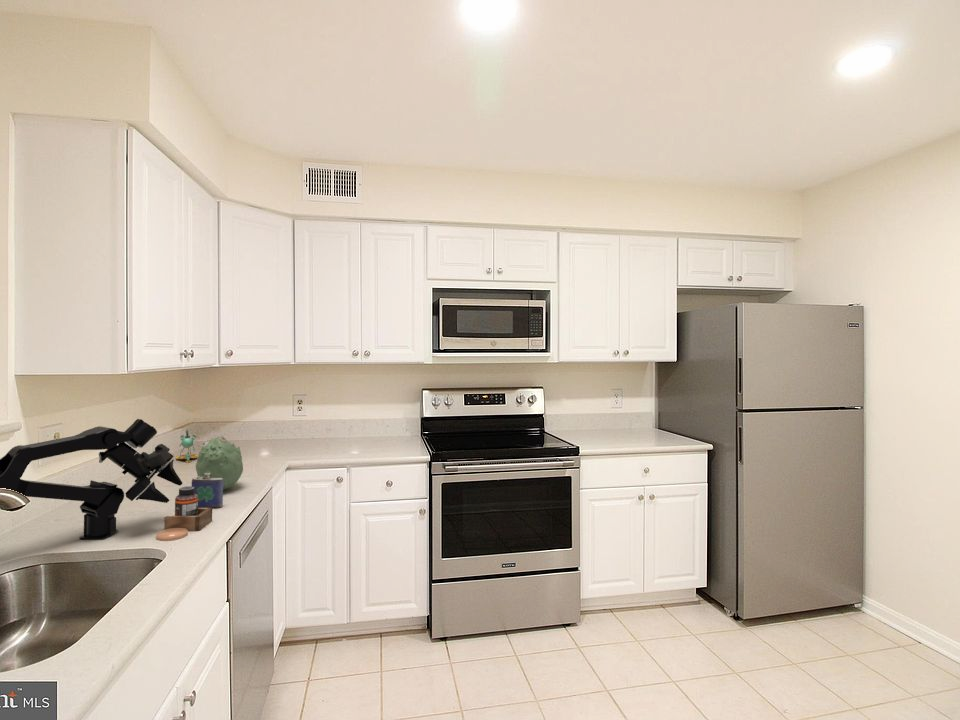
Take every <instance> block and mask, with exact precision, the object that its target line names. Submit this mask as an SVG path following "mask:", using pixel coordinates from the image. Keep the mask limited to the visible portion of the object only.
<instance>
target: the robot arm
mask: <svg viewBox="0 0 960 720" xmlns="http://www.w3.org/2000/svg"><path fill="white" fill-rule="evenodd" d="M157 434H158V431H157V429H156V428H155V427H154V426H152V425H150V424H149V423H147V422H146V421H144V420H143V419H142V418H141V419H140V418H137V419H136V420H134V422H133V423H132V424H131V425H130V426H129V427H127V428H126V430H124V431H121V430H117V429H116V428H112V427H107V426H102V425H101V426H95V427H93V428H90V429H86V430H84V431H81V432H80V433H78V434H75V435H72V436H67V437H61V438H55V439H51V440H50V439H49V440H45V441H40V442H35V443H30V444H25V445H22V444H19V445H15V446H14V447H11V449H10V450H9V451H7V453H6V454H5V455H4V456H2V457H1V458H0V488H6V489H11V490H14V491H17V492H19V493H22V494H23V495H25V496H26V497H27V498H28V497H29V498H41V499H49V500H50V499H53V500H61V501H62V500H63V501H75V502H82V503H81V505H80V506H79V509H80V511H81V512H82V514H84V515H83V535H81V536H80V537H79V539H80V540H104V539H107V538H108V537H111V536H112V535H114V534H115V533H117V532H118V531H119V529H118V528H117V517H116V516H115V515H116V514H118V511H119V509H120V506H121V504H122V503H123V501H124V499H125V497H126V499H128V500H130V501H131V502H132V501H134V500H136V501H138V500H143V501H144V500H146V501H153V502H158V503H159V502H160V503H164V504H167V503H168V502H170V498H168V497H167V496H166V495H165V494H164V493H162V492H161V491H160V490H158V489H157V488H156V485H155V481H153V482H152V481H151V479H153V477H155V475H156V476H157V477H159V478H161V479H163V480H166V481H167V482H169V483H172V484H174V485H177V486H181V485H183V481H182V479H181V478H180V477H179V475H178V473H177V472H176V471H175V469H174V462H175V460H174V455H173V454H172V453H171V452H169V451H170V447H168V446H167V445H165V444H163V443H159V444H157V445H156V446H155V447H154V450H153V451H152V452H150V453H147V452H146V451H145V452H144V451H142V452H141V453H140V452H138V451H137V450H136V449H137V448H141V449H143V447H144V446H146V444H147V443H149V441H150V440H152V438H154V437H155V436H156V435H157ZM97 450H98V451H99V450H105V451H100V452H98V458H99V459H98V463H99V464H102V463H103V462H105V460H107V459H108V460H110V461H111V462H112V463H113V464H116V466H118V467H120V468H121V469H122V470H123V471H121V473H122V474H123V475H126V474H127V473H128V474H129V475H131V476H132V477H134V479H135V480H134V483H133V485H131V487H130V488H128V490H126V491H124V490H123V489H122V488H120V487H118V484H115V483H111V482H107V481H101V482H100V481H95V480H91V479H90V481H89V485H82V486H81V485H74V484H64V483H53V482H45V481H38V480H37V481H36V480H26V479H21V478H22V476H23V475H24V473H25V471H26V469H27V467H28V466H29V465H30V464H31V462H33V461H37V460H43V459H47V458H52V457H56V456H60V455H61V456H62V455H66V454H69V453H70V454H71V453H74V452H75V453H76V452H79V451H97Z"/></svg>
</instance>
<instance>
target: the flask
mask: <svg viewBox="0 0 960 720" xmlns="http://www.w3.org/2000/svg"><path fill="white" fill-rule="evenodd" d="M204 474H205V476H203V477H202V478H200V476H199V477H198V476H196V477H193V478H192V479H191V486H192V487H194V490H195V491H194V493H195V494H197V495H198V508H212V509H214V510H215V509H221V508H222V507H223V506H224V500H223V498H224V490H223V478H209V477H210V474H211V473H204Z"/></svg>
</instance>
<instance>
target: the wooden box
mask: <svg viewBox="0 0 960 720" xmlns="http://www.w3.org/2000/svg"><path fill="white" fill-rule="evenodd" d="M163 520H164V522H163V523H164V524H163V527H164V528H163V530H165V529H170V528H185V529H187V530H188V532H199V531H201V530H202V529H203V528H205V527H206V526H207V525H209V524H210V523H211V522H213V508H198V515H197V516H175V515H165V516H164V519H163Z"/></svg>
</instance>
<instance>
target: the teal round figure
mask: <svg viewBox="0 0 960 720" xmlns="http://www.w3.org/2000/svg"><path fill="white" fill-rule="evenodd" d="M185 435H186V436H185ZM185 435H180V440H181V443H180V445H179V447H181V446H182V447H183V448H182V450H181V451H180V455H177V456H176V457H175V459H177V460H185V463H187V464H188V463H189V464H190V463H192V460H190V459H197V457H198V454H195V453H192V452H191V451H193V452H195V451H196V450H195V446H194V440H195V438H196V437H197V436H196V435H194V434H193V435H192V437H191V435H189V429H186V430H185ZM191 447H192V450H191ZM185 448H186V449H187V450H188V451H189V453H185V454H182V453H183V451H184V449H185Z"/></svg>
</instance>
